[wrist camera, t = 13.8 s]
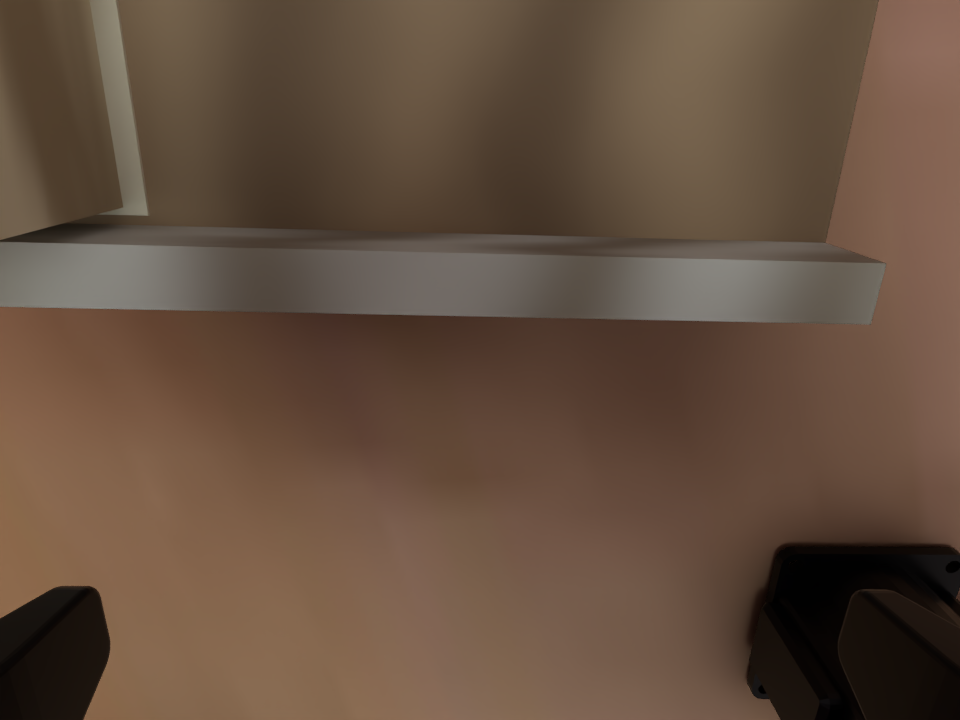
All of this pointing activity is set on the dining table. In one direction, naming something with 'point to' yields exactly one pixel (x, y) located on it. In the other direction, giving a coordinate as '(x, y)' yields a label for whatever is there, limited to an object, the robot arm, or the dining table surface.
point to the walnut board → (469, 161)
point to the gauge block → (52, 118)
